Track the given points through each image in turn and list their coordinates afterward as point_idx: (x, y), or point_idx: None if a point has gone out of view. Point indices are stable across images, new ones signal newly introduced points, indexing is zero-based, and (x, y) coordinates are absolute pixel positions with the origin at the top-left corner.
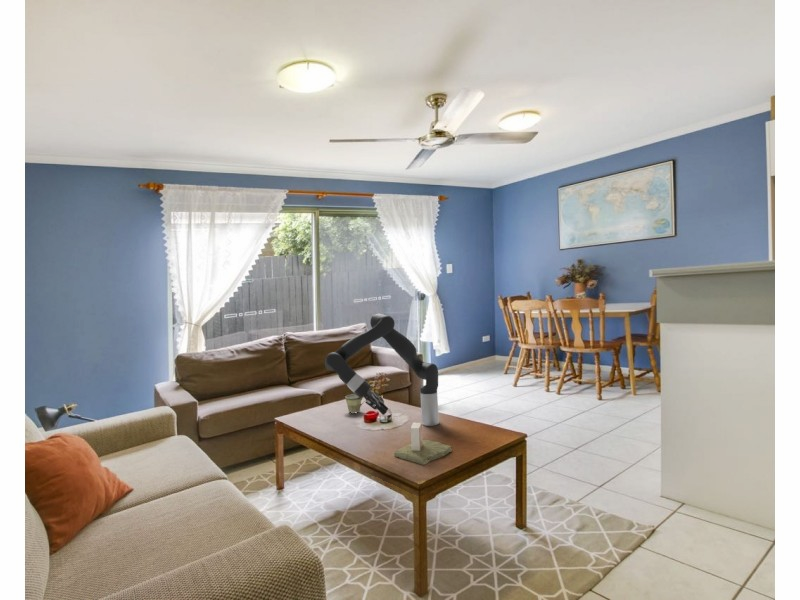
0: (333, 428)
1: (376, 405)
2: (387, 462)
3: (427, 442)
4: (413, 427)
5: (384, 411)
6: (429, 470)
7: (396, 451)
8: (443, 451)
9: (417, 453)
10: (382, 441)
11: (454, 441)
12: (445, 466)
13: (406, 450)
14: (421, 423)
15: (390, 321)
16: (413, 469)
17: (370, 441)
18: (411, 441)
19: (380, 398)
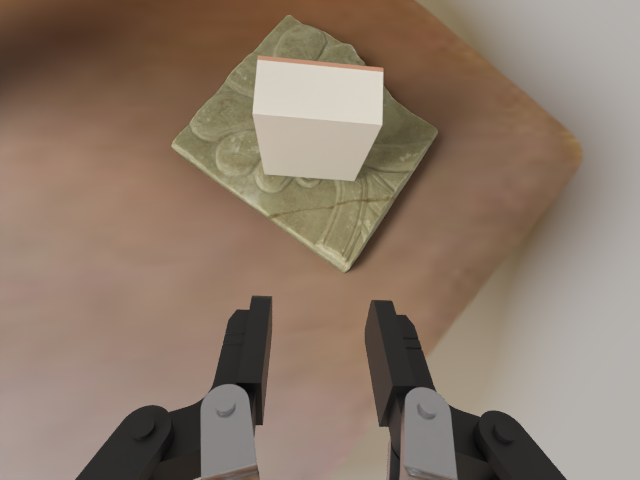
0: None
1: (535, 455)
2: (418, 296)
3: (242, 111)
4: (366, 107)
5: (409, 322)
6: (486, 116)
7: (348, 258)
8: (350, 46)
9: (389, 153)
10: (128, 369)
11: (171, 10)
12: (446, 59)
13: (350, 207)
14: (274, 58)
15: None
16: (482, 177)
17: None
18: (362, 162)
19: (120, 468)
